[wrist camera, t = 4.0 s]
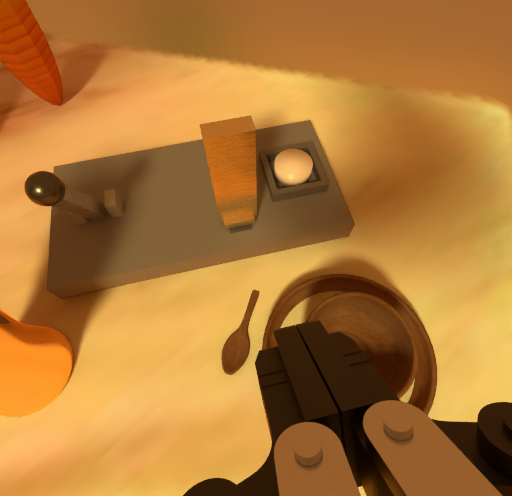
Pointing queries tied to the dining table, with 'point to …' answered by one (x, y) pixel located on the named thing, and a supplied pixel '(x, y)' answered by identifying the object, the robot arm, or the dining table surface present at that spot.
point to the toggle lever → (62, 196)
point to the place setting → (357, 332)
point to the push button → (293, 167)
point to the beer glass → (31, 366)
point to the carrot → (28, 51)
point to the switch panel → (185, 214)
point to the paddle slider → (232, 168)
